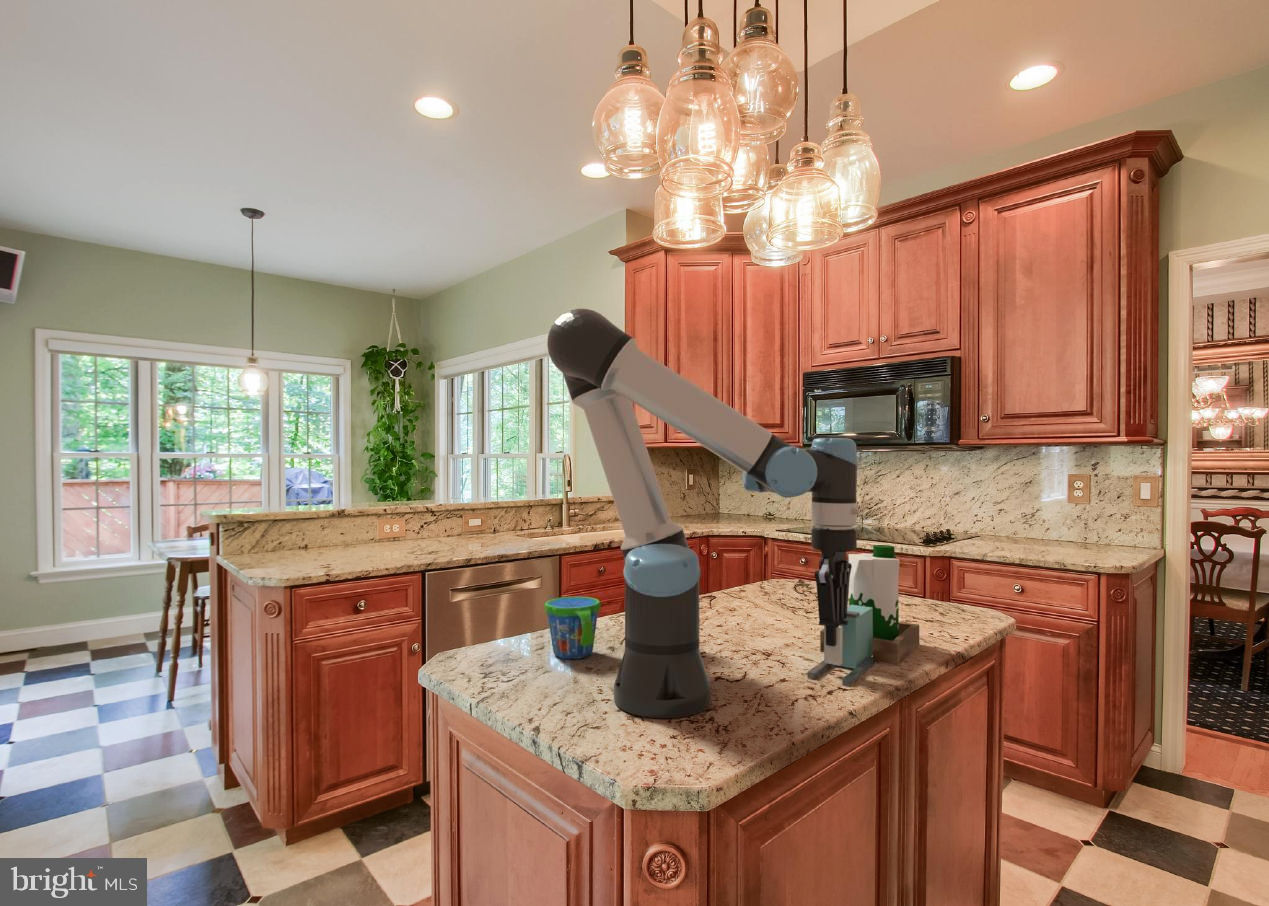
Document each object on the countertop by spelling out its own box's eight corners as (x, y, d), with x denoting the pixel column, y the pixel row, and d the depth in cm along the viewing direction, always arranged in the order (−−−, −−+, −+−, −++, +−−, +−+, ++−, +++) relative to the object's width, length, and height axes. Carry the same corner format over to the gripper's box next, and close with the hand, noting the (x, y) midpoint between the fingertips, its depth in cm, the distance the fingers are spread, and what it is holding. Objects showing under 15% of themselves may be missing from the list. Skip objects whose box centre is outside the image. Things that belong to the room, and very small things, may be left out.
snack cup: (537, 646, 128) (537, 595, 128) (587, 640, 131) (587, 591, 131) (555, 670, 113) (555, 613, 113) (611, 663, 117) (611, 608, 117)
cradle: (820, 651, 123) (820, 630, 123) (848, 633, 136) (847, 614, 137) (897, 665, 115) (897, 643, 115) (919, 644, 128) (919, 624, 128)
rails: (807, 677, 109) (807, 671, 109) (837, 655, 121) (837, 650, 121) (849, 686, 104) (849, 680, 104) (876, 663, 116) (876, 657, 116)
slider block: (833, 664, 114) (833, 611, 115) (851, 651, 122) (851, 601, 123) (856, 669, 112) (856, 614, 112) (873, 655, 120) (872, 604, 120)
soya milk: (904, 652, 122) (903, 549, 123) (857, 652, 123) (856, 549, 123) (889, 640, 131) (888, 543, 131) (844, 639, 132) (843, 543, 132)
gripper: (844, 531, 103) (843, 677, 102) (866, 525, 113) (866, 657, 113) (799, 528, 107) (798, 668, 107) (825, 522, 118) (824, 650, 117)
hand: (833, 662), depth 110 cm, fingers closed
